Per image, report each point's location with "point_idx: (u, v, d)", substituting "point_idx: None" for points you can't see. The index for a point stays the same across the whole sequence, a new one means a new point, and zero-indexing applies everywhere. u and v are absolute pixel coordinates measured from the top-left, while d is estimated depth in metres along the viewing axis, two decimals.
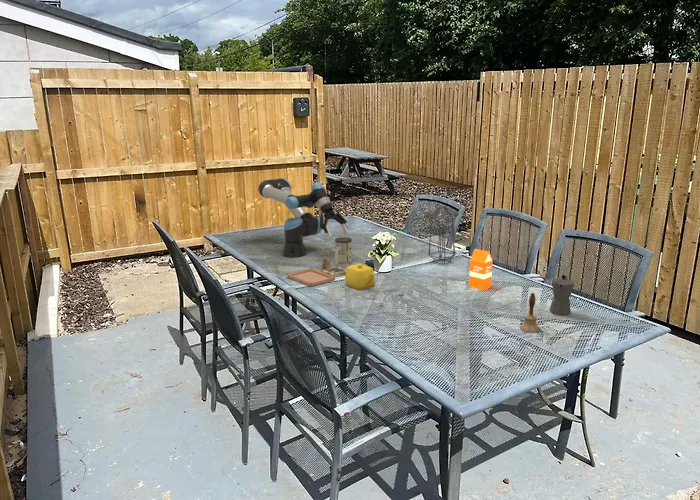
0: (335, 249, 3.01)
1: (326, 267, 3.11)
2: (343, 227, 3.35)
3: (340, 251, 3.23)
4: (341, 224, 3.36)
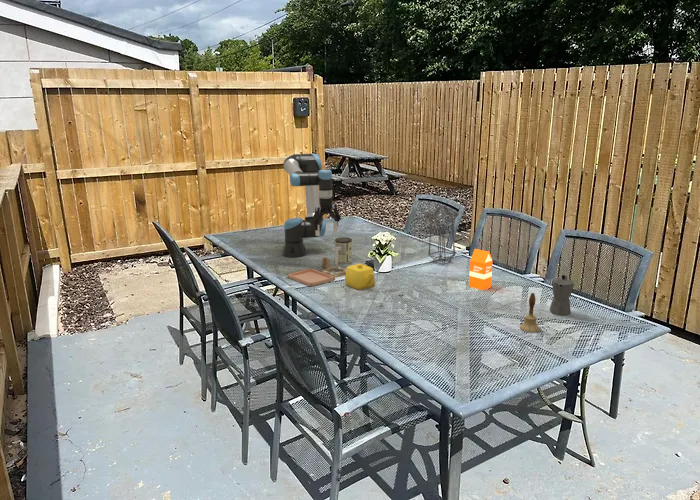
0: (335, 249, 3.01)
1: (326, 267, 3.11)
2: (335, 224, 3.11)
3: (340, 251, 3.23)
4: (334, 219, 3.12)
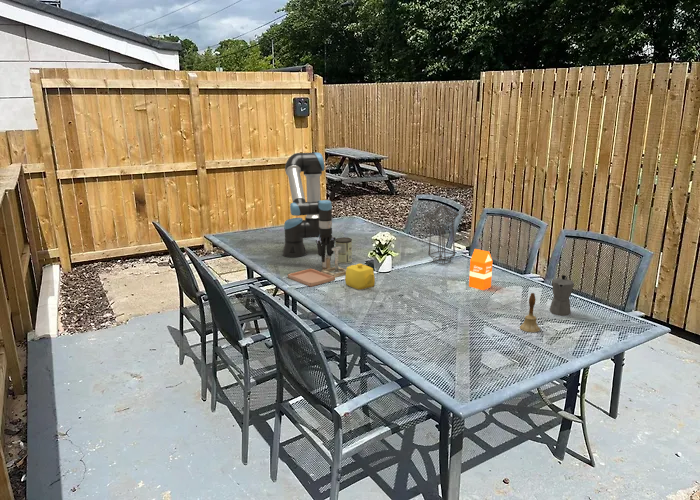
0: (335, 249, 3.01)
1: (326, 267, 3.11)
2: None
3: (340, 251, 3.23)
4: (327, 253, 3.12)
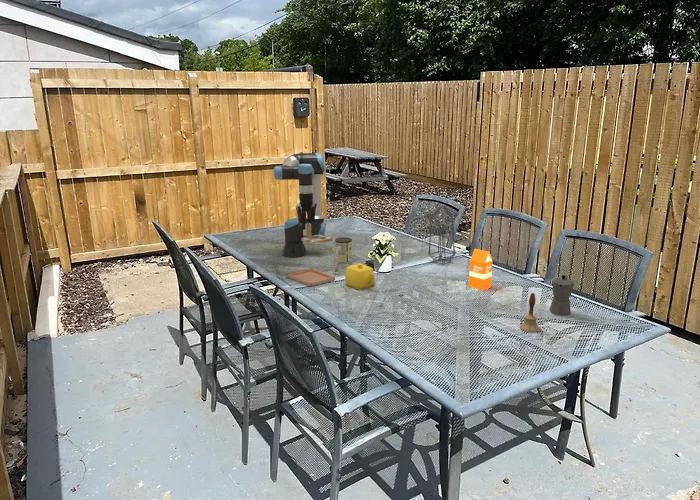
0: (335, 249, 3.01)
1: (307, 235, 2.95)
2: None
3: (340, 251, 3.23)
4: (307, 220, 2.96)
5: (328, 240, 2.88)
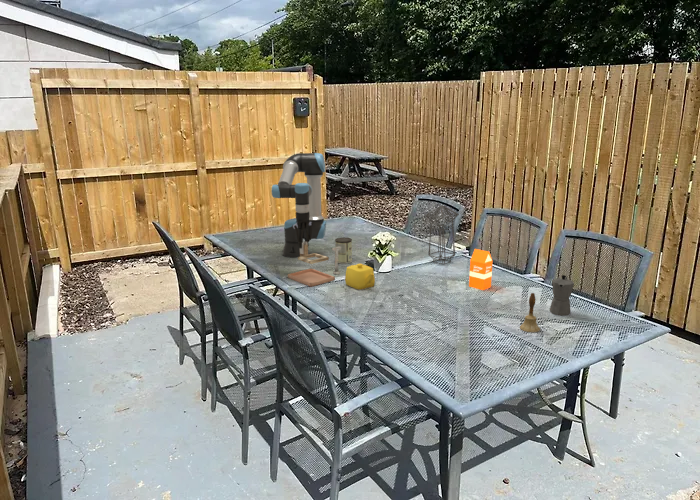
0: (335, 249, 3.01)
1: (303, 254, 2.96)
2: None
3: (340, 251, 3.23)
4: None
5: (324, 259, 2.89)
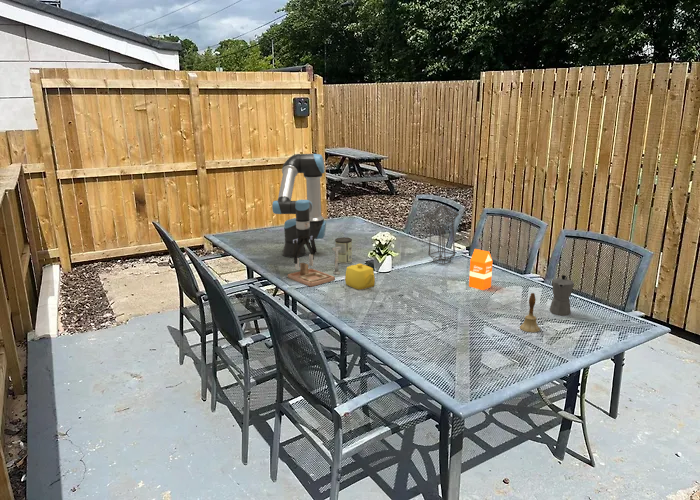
0: (335, 249, 3.01)
1: (304, 273, 2.99)
2: (310, 257, 3.01)
3: (340, 251, 3.23)
4: None
5: None
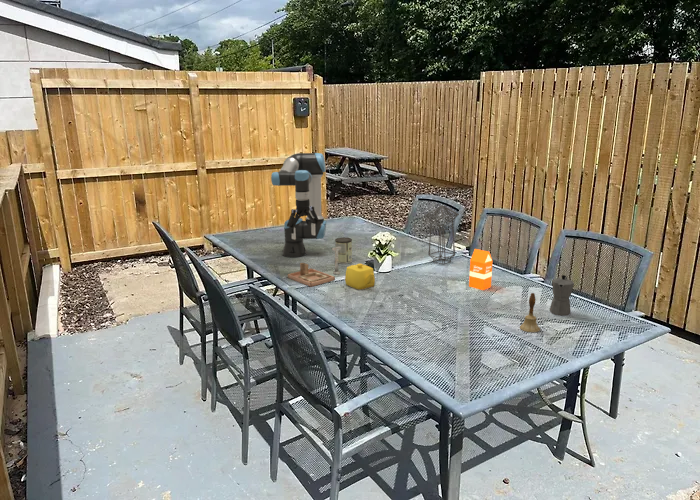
0: (335, 249, 3.01)
1: (304, 273, 2.99)
2: (312, 227, 2.98)
3: (340, 251, 3.23)
4: (312, 222, 2.99)
5: None
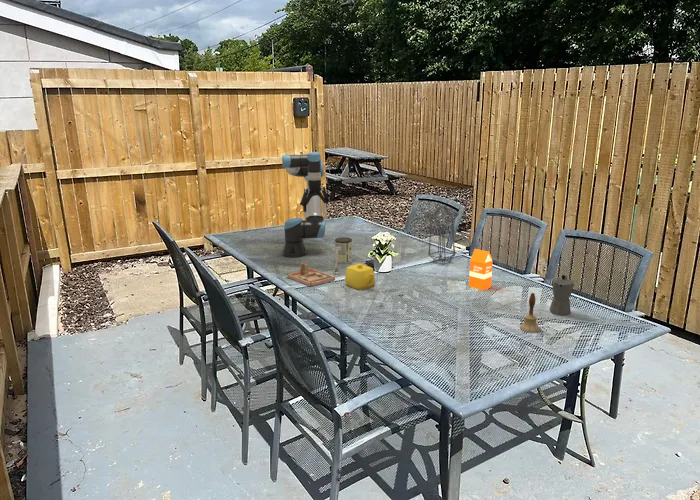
0: (335, 249, 3.01)
1: (304, 273, 2.99)
2: (323, 206, 3.16)
3: (340, 251, 3.23)
4: (323, 201, 3.16)
5: None
